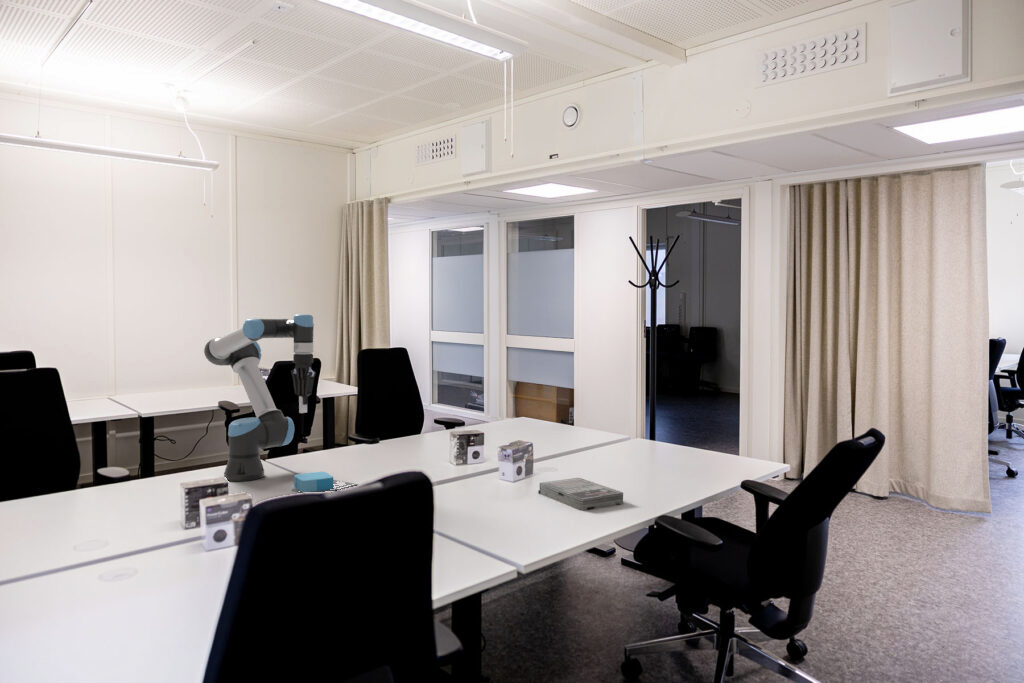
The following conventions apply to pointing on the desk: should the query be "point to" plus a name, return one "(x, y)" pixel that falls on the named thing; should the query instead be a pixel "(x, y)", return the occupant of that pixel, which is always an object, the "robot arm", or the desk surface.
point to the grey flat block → (581, 493)
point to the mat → (333, 486)
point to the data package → (313, 482)
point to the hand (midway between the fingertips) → (303, 412)
